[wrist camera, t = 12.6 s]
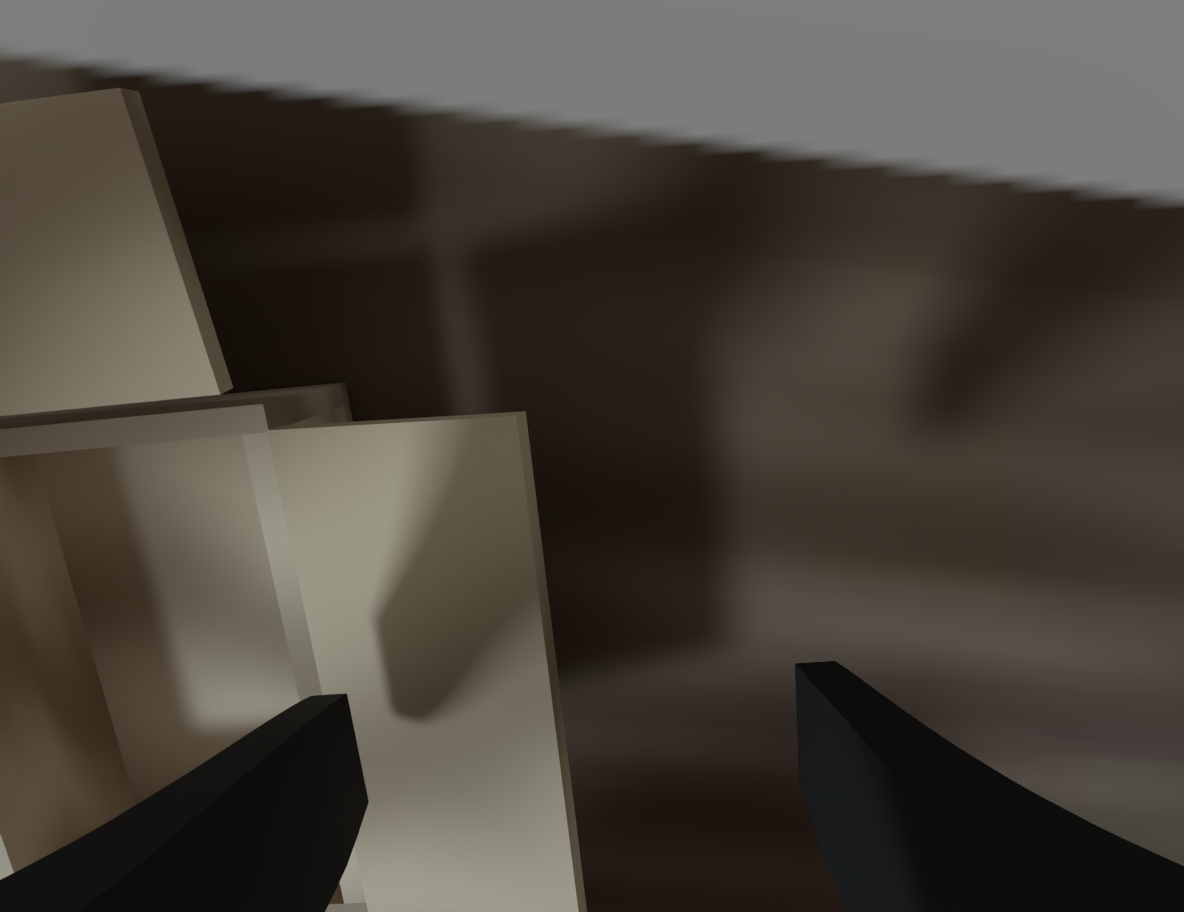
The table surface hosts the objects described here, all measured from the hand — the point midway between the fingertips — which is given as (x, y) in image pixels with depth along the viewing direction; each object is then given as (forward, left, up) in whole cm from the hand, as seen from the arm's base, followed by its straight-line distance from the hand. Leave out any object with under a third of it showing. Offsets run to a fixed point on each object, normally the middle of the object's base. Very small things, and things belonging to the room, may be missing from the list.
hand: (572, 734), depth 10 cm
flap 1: (+8, +9, -1) cm, 12 cm away
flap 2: (0, +3, -1) cm, 3 cm away
